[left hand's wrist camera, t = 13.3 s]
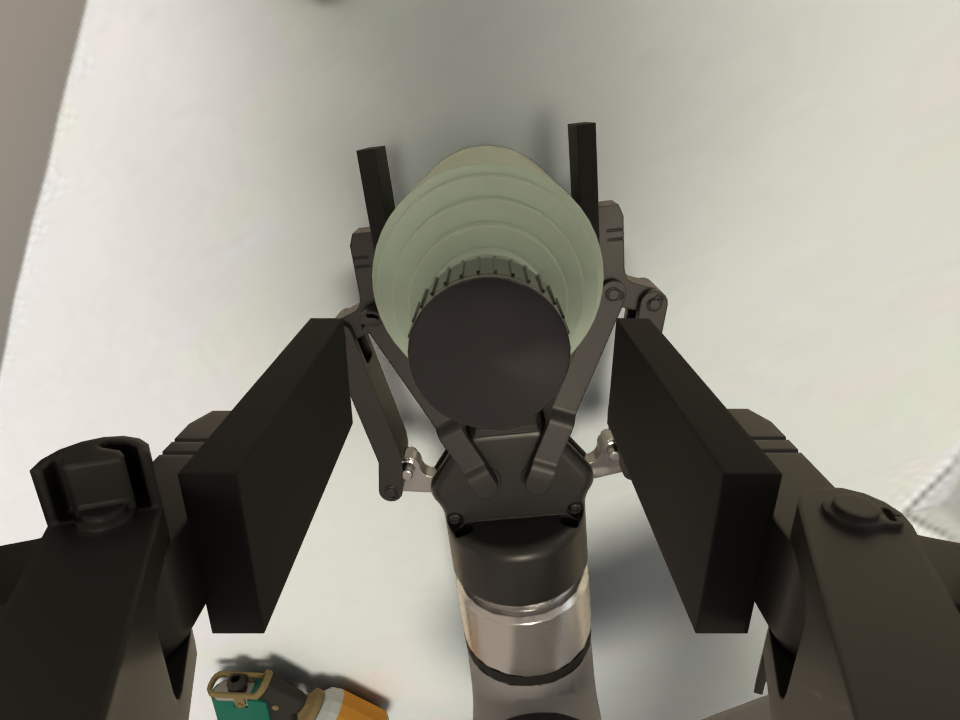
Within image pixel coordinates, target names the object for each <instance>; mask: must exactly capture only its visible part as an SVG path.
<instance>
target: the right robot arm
mask: <svg viewBox="0 0 960 720" xmlns="http://www.w3.org/2000/svg"><path fill="white" fill-rule="evenodd" d="M568 137H569V157H570V177H571V196H572V198H573V200H574V201H575V202H576V203H577V204H578V205H579V206H580V207H581V209H582V210H583V212H584V213H585V215H586V216H587V218H588V219H589V221H590V223H591V225H592V227H593V229H594V231H595V233H596V236H597V240H598V243H599V246H600V249H601V255H602V260H603V275H604V279H603V290H602V296H601V300H600V305H599V308H598V311H597V314H596V316H595V319H594V321H593V323H592V325H591V327H590V329H589V331H588V333H587V334H586V336H585V337H584V339H583V340H582V341H581V343H580V344H579V346H578V347H577V348H576V349H575V350H574V352H573V353H572V354H571V355H570V364H569V369H568V373H567V376H566V378H565V381H564V383H563V385H562V387H561V389H560V390H559V392H558V393H557V395H556V396H555V397H554V399H553V400H552V401H551V402H550V403H549V404H548V405H547V406H546V407H545V408H543V409H542V410H541V411H540V412H538V413H537V414H535V415H534V416H532V417H531V418H528V419H526V420H524V421H522V422H519V423H517V424H514V425H510V426H505V427H498V428H479V427H472V426H468V425H464V424H461V423H458V422H456V421H453V420H451V419H449V418H448V417H446V416H444V415H443V414H441V413H440V412H438V411H437V410H436V409H434V408H433V407H432V406H431V405H430V404H429V403H428V402H427V401H426V400H425V398H424V397H423V396H422V395H421V393H420V392H419V390H418V389H417V387H416V385H415V383H414V381H413V378H412V375H411V372H410V369H409V363H408V358H407V356H406V355H405V354H404V353H403V352H402V351H401V349H400V348H399V347H398V346H397V345H396V344H395V342H394V341H393V339H392V338H391V336H390V335H389V333H388V332H387V330H386V328H385V326H384V324H383V322H382V320H381V318H380V315H379V312H378V309H377V306H376V302H375V297H374V292H373V279H372V272H373V260H374V255H375V250H376V246H377V243H378V240H379V237H380V234H381V232H382V230H383V228H384V226H385V224H386V222H387V220H388V218H389V217H390V215H391V214H392V212H393V211H394V210H395V205H394V198H393V192H392V186H391V180H390V174H389V167H388V161H387V155H386V149H385V146H378V147H370V148H365V149H362V150H358V151H357V157H358V163H359V168H360V174H361V179H362V185H363V191H364V196H365V202H366V207H367V213H368V219H369V224H370V227H365V228H358V229H357V230H356V231H355V232H354V233H353V234H352V238H351V244H350V248H351V253H352V258H353V263H354V267H355V274H356V279H357V284H358V289H359V294H360V303H359V304H357V305H355V306H353V307H351V308H346V309H344V310H342V311H341V312H340V313H339V314H338V316H337V317H336V318H343V320H344V331H345V342H346V353H347V364H348V376H349V387H350V396H351V398H352V401H353V403H354V405H355V408H356V410H357V412H358V415H359V417H360V420H361V422H362V424H363V427H364V429H365V431H366V434H367V436H368V438H369V441H370V443H371V446H372V448H373V450H374V453H375V455H376V457H377V460H378V462H379V493H380V495H381V497H382V498H384V499H385V500H388V501H396V500H398V499H399V498H400V497H401V496H402V492H403V491H416V492H432V494H433V496H434V498H435V499H436V500H437V501H438V502H439V504H440V505H441V506H442V508H443V510H444V512H445V516H446V522H447V528H448V535H449V541H450V547H451V553H452V560H453V566H454V571H455V574H456V576H457V577H456V586H457V592H458V597H459V603H460V609H461V614H462V620H463V626H464V632H465V639H466V643H467V648H468V654H469V662H470V670H471V679H472V688H473V720H601V715H600V710H599V705H598V700H597V694H596V687H595V680H594V669H593V658H592V647H591V607H590V591H589V575H588V566H587V556H588V554H587V535H586V516H585V497H586V494H587V492H588V490H589V488H590V486H591V485H592V482H593V478H597V477H602V476H606V475H610V474H615V473H619V472H623V474H624V476H625V477H626V478H627V479H630V480H631V478H630V476H629V473H628V471H627V469H626V466H625V464H624V461H623V459H622V457H621V454H620V452H619V450H618V447H617V445H616V443H615V440H614V438H613V435H612V433H611V431H610V428H609V429H604V430H602V431H601V434H600V435H599V436H598V439H597V446H596V448H595V449H594V450H593V451H592V452H590V453H588V454H586V452H585V451H584V450H583V449H582V448H581V447H580V446H579V445H578V444H577V443H576V442H575V441H574V440H573V439H572V438H571V437H570V435H571V432H572V430H573V427H574V423H575V416H576V413H577V410H578V408H579V406H580V403H581V401H582V399H583V396H584V394H585V392H586V389H587V387H588V385H589V382H590V380H591V378H592V375H593V373H594V371H595V368H596V366H597V364H598V362H599V359H600V357H601V355H602V352H603V350H604V348H605V345H606V343H607V341H608V338H609V336H610V334H611V331H612V329H613V327H614V324H615V322H616V320H617V318H618V315H619V313H620V311H621V308H622V307H623V308H625V314H624V318H649V319H650V320H651V321H652V322H653V323H654V324H655V326H656V327H657V328H658V329H659V330H660V331H661V333H662V330H663V325H664V320H665V315H666V310H667V305H668V300H667V298H666V296H665V295H664V294H663V293H662V292H661V291H660V290H659V289H658V288H657V287H656V286H655V285H654V284H653V283H652V282H651V281H650V280H649V279H647V278H636V277H632V276H628V275H626V274H625V270H624V239H623V238H624V230H623V228H624V227H623V214H622V212H621V209H620V207H619V205H618V204H617V203H615V202H614V201H612V200H609V201H600V202H598V180H597V151H596V123H591V122H582V123H574V124H568ZM368 333H370V335H371V336H372V338H373V339H374V340H375V342H376V343H377V345H378V346H379V348H380V349H381V351H382V352H383V353H384V355H385V356H386V358H387V359H388V361H389V362H390V363H391V365H392V366H393V368H394V369H395V371H396V372H397V373H398V375H399V376H400V378H401V379H402V381H403V382H404V383H405V385H406V386H407V388H408V389H409V391H410V392H411V394H412V395H413V396H414V398H415V399H416V401H417V402H418V404H419V405H420V406H421V408H422V409H423V411H424V412H425V414H426V415H427V416H428V418H429V419H430V421H431V422H432V424H433V425H434V427H435V428H436V431H437V435H438V437H439V439H440V441H441V443H442V444H443V445H444V447H445V448H446V449H445V451H444V453H443V454H442V456H441V457H440V459H439V460H438V462H437V464H436V465H435V467H430V466H428V465H426V464H425V463H424V462H423V460H422V457H421V454H420V453H419V452H418V451H417V449H416V448H415V447H409V448H408V438H407V433H406V430H405V427H404V424H403V421H402V419H401V416H400V414H399V411H398V409H397V406H396V404H395V401H394V399H393V396H392V393H391V391H390V388H389V386H388V383H387V381H386V378H385V376H384V373H383V371H382V368H381V366H380V363H379V361H378V358H377V355H376V353H375V350H374V348H373V345H372V343H371V340H370V338H369V335H368ZM608 409H609V406H608ZM702 720H772V718H771V710H770V702H769V695H766V696H764V697H761V698H758V699H756V700H753V701H750V702H748V703H745V704H742V705H740V706H737V707H734V708H732V709H729V710H726V711H724V712H721V713H718V714H716V715H713V716H710V717H707V718H705V719H702Z"/></svg>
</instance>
